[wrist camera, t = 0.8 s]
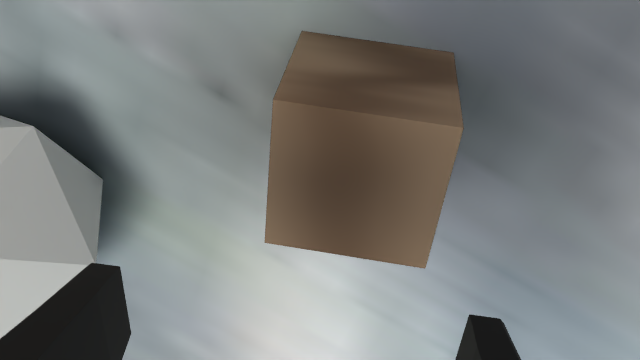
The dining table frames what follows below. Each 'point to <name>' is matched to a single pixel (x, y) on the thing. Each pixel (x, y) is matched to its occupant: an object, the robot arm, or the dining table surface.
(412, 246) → the cube
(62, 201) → the die
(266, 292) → the dining table surface
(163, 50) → the dining table surface
